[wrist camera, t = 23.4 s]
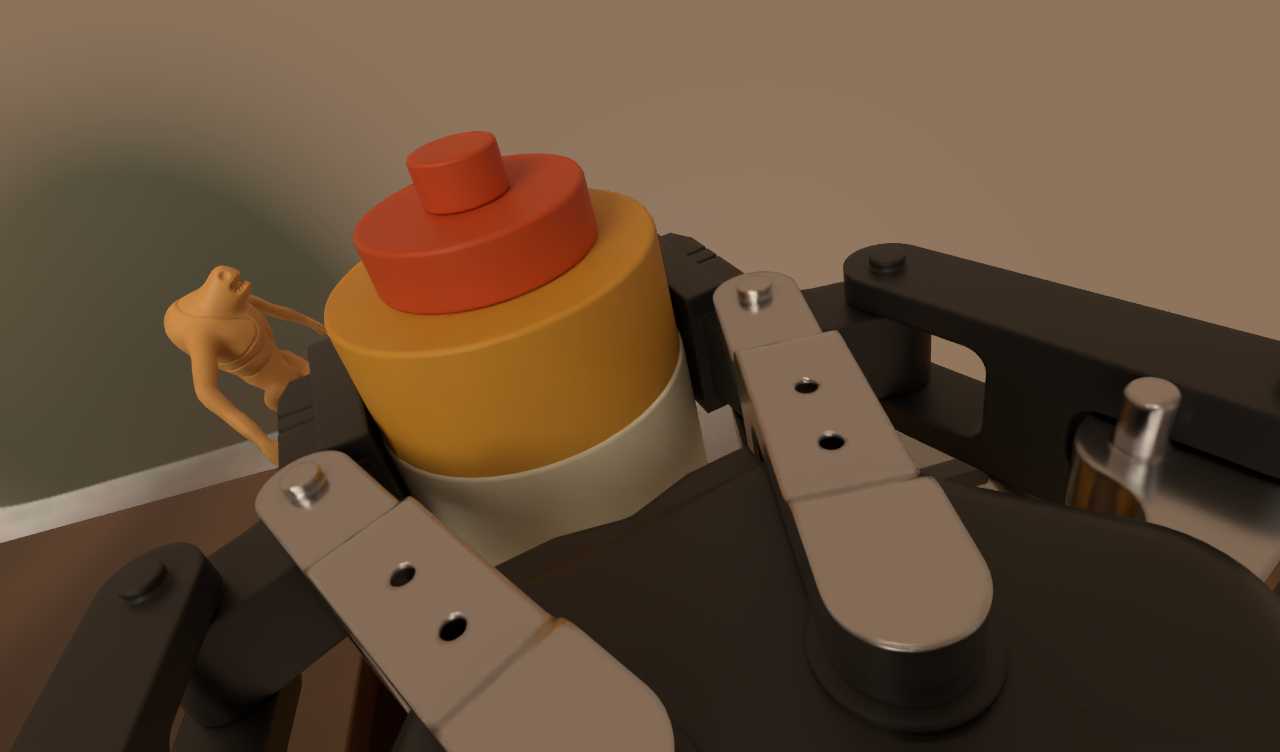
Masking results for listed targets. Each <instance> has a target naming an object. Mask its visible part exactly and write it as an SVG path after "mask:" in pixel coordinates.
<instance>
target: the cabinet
mask: <svg viewBox="0 0 1280 752" xmlns="http://www.w3.org/2000/svg"><path fill="white" fill-rule="evenodd" d="M278 471H279V468H275V469H272V470H268V471H264V472H260V473H257V474H253V475H249V476H246V477H242V478H238V479H235V480H231V481H227V482H224V483H220V484H216V485H213V486H209V487H205V488H202V489H198V490H194V491H191V492H187V493H183V494H180V495H176V496H172V497H169V498H165V499H161V500H158V501H154V502H150V503H147V504H143V505H139V506H136V507H132V508H128V509H125V510H121V511H117V512H114V513H110V514H106V515H103V516H99V517H95V518H92V519H88V520H84V521H81V522H77V523H73V524H70V525H66V526H62V527H59V528H55V529H51V530H48V531H44V532H40V533H37V534H33V535H29V536H26V537H22V538H18V539H15V540H11V541H7V542H4V543H0V752H9V750H10V748H11V746H12V744H13V743H14V741H15V739H16V737H17V735H18V734H19V732H20V730H21V728H22V726H23V725H24V723H25V721H26V719H27V717H28V716H29V714H30V712H31V710H32V708H33V706H34V705H35V703H36V701H37V699H38V697H39V696H40V694H41V692H42V690H43V688H44V687H45V685H46V683H47V681H48V679H49V678H50V676H51V674H52V672H53V670H54V669H55V667H56V665H57V663H58V661H59V660H60V658H61V656H62V654H63V652H64V651H65V649H66V647H67V645H68V643H69V642H70V640H71V638H72V636H73V634H74V632H75V631H76V629H77V627H78V625H79V623H80V622H81V620H82V618H83V616H84V614H85V613H86V611H87V609H88V607H89V605H90V604H91V602H92V600H93V598H94V597H95V595H96V594H97V592H98V591H99V590H100V588H101V587H102V586H103V585H104V584H105V583H106V582H107V581H108V580H109V579H110V578H111V577H112V576H113V575H114V574H115V573H116V572H117V571H118V570H120V569H121V568H122V567H124V566H125V565H126V564H128V563H129V562H131V561H132V560H134V559H135V558H137V557H139V556H141V555H142V554H144V553H146V552H148V551H151V550H153V549H155V548H158V547H161V546H164V545H167V544H172V543H179V542H185V543H191V544H194V545H195V546H197V547H198V548H199V549H200V550H201V552H202V553H203V554H204V555H205V556H206V557H207V556H209V555H211V554H212V553H214V552H215V551H217V550H218V549H220V548H221V547H223V546H224V545H226V544H227V543H229V542H230V541H232V540H234V539H235V538H237V537H238V536H239V535H241V534H242V533H244V532H245V531H247V530H248V529H249V528H250V527H251V526H253V525H254V524H255V523H256V522H257V521H258V520H259V519H260V516H259V515H258V514H257V512H256V509H255V502H256V498H257V495H258V493H259V492H260V490H261V488H262V487H263V486H264V485H265V483H266V482H267V481H268V480H269V479H270V478H271V477H272V476H273V475H274V474H276V473H277V472H278ZM301 676H302V686H301V692H300V696H299V700H298V705H297V709H296V713H295V718H294V722H293V727H292V731H291V735H290V740H289V744H288V748H287V752H369V747H370V740H371V732H372V725H373V718H374V710H375V703H376V695H377V688H378V680H379V677H378V676H377V674H376V673H375V672H374V670H373V669H372V668H371V667H370V665H369V664H368V663H367V661H366V660H365V659H364V658H363V656H362V655H361V654H360V652H359V651H358V650H357V648H356V647H355V646H354V645H353V643H352V642H351V641H350V639H349V638H348V637H346V638H345V639H344V640H343V641H341V642H340V643H339V644H337V645H336V646H335V647H334V648H332V649H331V650H330V651H328V652H327V653H326V654H325V655H323V656H322V657H321V658H319V659H318V660H317V661H316V662H314V663H313V664H312V665H310V666H309V667H308V668H307V669H305V670H304V671H303V672H301ZM184 714H185V711H184V710H183V709H182V708H181V707H180V706H179V709H178V711H177V714H176V717H175V719H174V722H173V725H172V728H171V732H170V740H169V746H170V752H171V749H172V747H173V744H174V741H175V738H176V736H177V733H178V730H179V727H180V725H181V722H182V719H183V717H184Z"/></svg>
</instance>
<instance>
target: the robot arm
mask: <svg viewBox="0 0 1280 752" xmlns="http://www.w3.org/2000/svg"><path fill="white" fill-rule="evenodd" d="M657 235H658V234H657ZM658 240H659V245H660V250H661V255H662V259H663V264H664V269H665V274H666V279H667V283H668V288H669V293H670V298H671V303H672V307H673V312H674V317H675V322H676V327H677V328H678V330H679V332H680V334H681V337H682V341H683V345H684V349H685V354H686V359H687V364H688V369H689V374H690V379H691V384H692V388H693V393H694V398H695V400H696V401H697V402H698V403H699V404H700V405H701V406H702V407H703V408H704V410H705V411H706V412H707V413H710V412H712V411H714V410H716V409H719V408H721V407H723V406H725V405H727V404H729V405H730V406H731V407H732V412H733V418H734V424H735V429H736V433H737V436H738V439H739V443H740V446H741V449H738V450H736V451H734V452H732V453H730V454H728V455H726V456H724V457H722V458H720V459H718V460H716V461H713V462H711V463H709V464H707V465H705V466H703V467H701V468H699V469H697V470H695V471H693V472H691V473H688V474H687V475H685V476H684V477H683V478H681V479H680V480H679V481H677V482H676V483H675V484H673V485H672V486H671V487H669V488H668V489H667V490H665V491H664V492H663V493H661V494H660V495H659V496H657V497H656V498H655V499H654V500H652V501H651V502H650V503H648V504H647V505H646V506H644V507H643V508H642V509H640V510H639V511H638V512H636V513H635V514H633V515H632V516H630V517H628V518H625V519H622V520H618V521H615V522H611V523H607V524H604V525H600V526H596V527H592V528H589V529H585V530H581V531H578V532H574V533H570V534H566V535H563V536H559V537H555V538H553V539H551V540H549V541H547V542H545V543H542V544H540V545H538V546H536V547H534V548H532V549H530V550H528V551H526V552H524V553H522V554H520V555H517V556H515V557H513V558H511V559H509V560H507V561H505V562H503V563H501V564H499V565H497V566H495V567H493V566H492V565H491V564H490V563H489V562H488V561H487V560H485V559H484V558H483V557H482V556H481V555H480V554H478V553H477V552H476V551H475V550H474V549H473V548H471V547H470V546H469V545H468V544H467V543H466V542H465V541H463V540H462V539H461V538H460V537H459V536H458V535H456V534H455V533H454V532H453V531H452V530H451V529H449V528H448V527H447V526H446V525H445V524H444V523H442V522H441V521H440V520H439V519H438V518H437V517H436V516H434V515H433V514H432V513H431V512H430V511H429V510H427V509H426V508H425V507H424V506H423V505H422V504H420V503H419V502H418V501H417V500H416V499H414V498H413V497H411V496H410V494H409V492H408V490H407V488H406V486H405V484H404V483H403V481H402V479H401V477H400V475H399V473H398V472H397V470H396V468H395V466H394V464H393V462H392V461H391V459H390V457H389V455H388V453H387V451H386V449H385V447H384V443H383V440H382V437H381V433H380V431H379V429H378V427H377V425H376V423H375V421H374V420H373V418H372V416H371V414H370V412H369V410H368V408H367V407H366V405H365V403H364V401H363V399H362V397H361V395H360V393H359V392H358V390H357V388H356V386H355V384H354V382H353V380H352V379H351V377H350V375H349V373H348V371H347V369H346V367H345V366H344V364H343V362H342V360H341V358H340V356H339V354H338V352H337V351H336V349H335V347H334V345H333V343H332V341H331V339H330V338H329V337H328V338H326V339H323V340H320V341H318V342H315V343H313V344H310V345H308V358H309V368H310V374H308V375H305V376H303V377H300V378H297V379H295V380H292V381H290V382H289V383H288V384H287V386H286V388H285V389H284V391H283V393H282V394H281V396H280V398H279V399H278V401H277V410H278V419H279V421H278V433H279V435H278V464H279V471H278V472H277V473H276V474H274V475H273V476H272V477H271V478H270V479H269V480H268V481H267V482H266V483H265V485H264V486H263V487H262V488H261V490H260V492H259V493H258V495H257V498H256V502H255V509H256V512H257V514H258V515H259V516H260V519H259V520H258V521H257V522H256V523H255V524H254V525H253V526H251V527H250V528H249V529H248V530H247V531H245V532H244V533H242V534H241V535H239V536H238V537H237V538H235V539H234V540H232V541H230V542H229V543H227V544H226V545H224V546H223V547H221V548H220V549H218V550H217V551H215V552H214V553H212V554H211V555H209V556H207V557H206V556H205V555H204V554H203V553H202V552H201V550H200V549H199V548H198V547H197V546H195V545H194V544H191V543H185V542H179V543H172V544H167V545H164V546H161V547H158V548H155V549H153V550H151V551H148V552H146V553H144V554H142V555H141V556H139V557H137V558H135V559H134V560H132V561H131V562H129V563H128V564H126V565H125V566H124V567H122V568H121V569H120V570H118V571H117V572H116V573H115V574H114V575H113V576H112V577H111V578H110V579H109V580H108V581H107V582H106V583H105V584H104V585H103V586H102V587H101V588H100V590H99V591H98V592H97V594H96V595H95V597H94V598H93V600H92V602H91V604H90V605H89V607H88V609H87V611H86V613H85V614H84V616H83V618H82V620H81V622H80V623H79V625H78V627H77V629H76V631H75V632H74V634H73V636H72V638H71V640H70V642H69V643H68V645H67V647H66V649H65V651H64V652H63V654H62V656H61V658H60V660H59V661H58V663H57V665H56V667H55V669H54V670H53V672H52V674H51V676H50V678H49V679H48V681H47V683H46V685H45V687H44V688H43V690H42V692H41V694H40V696H39V697H38V699H37V701H36V703H35V705H34V706H33V708H32V710H31V712H30V714H29V716H28V717H27V719H26V721H25V723H24V725H23V726H22V728H21V730H20V732H19V734H18V735H17V737H16V739H15V741H14V743H13V744H12V746H11V748H10V750H9V752H170V746H169V740H170V732H171V728H172V725H173V722H174V719H175V717H176V714H177V711H178V709H179V706H180V707H181V708H182V709H183V710H184V711H185V714H184V717H183V719H182V722H181V725H180V727H179V730H178V733H177V736H176V738H175V741H174V744H173V747H172V749H171V752H287V748H288V744H289V740H290V735H291V731H292V727H293V722H294V718H295V713H296V709H297V705H298V700H299V696H300V692H301V686H302V676H301V672H303V671H304V670H305V669H307V668H308V667H309V666H310V665H312V664H313V663H314V662H316V661H317V660H318V659H319V658H321V657H322V656H323V655H325V654H326V653H327V652H328V651H330V650H331V649H332V648H334V647H335V646H336V645H337V644H339V643H340V642H341V641H343V640H344V639H345V638H346V637H348V638H349V639H350V641H351V642H352V643H353V645H354V646H355V647H356V648H357V650H358V651H359V652H360V654H361V655H362V656H363V658H364V659H365V660H366V661H367V663H368V664H369V665H370V667H371V668H372V669H373V670H374V672H375V673H376V674H377V676H378V677H379V678H380V680H381V681H382V682H383V683H384V685H385V686H386V687H387V689H388V690H389V691H390V692H391V694H392V695H393V696H394V698H395V699H396V700H397V702H398V703H399V704H400V705H401V707H402V708H403V709H404V711H405V712H406V713H407V715H408V716H407V718H406V720H405V722H404V724H403V726H402V729H401V731H400V733H399V735H398V737H397V739H396V742H395V744H394V746H393V748H392V750H391V752H1280V598H1279V597H1280V341H1278V340H1274V339H1270V338H1266V337H1262V336H1258V335H1255V334H1251V333H1247V332H1243V331H1239V330H1235V329H1231V328H1228V327H1224V326H1220V325H1216V324H1212V323H1208V322H1205V321H1201V320H1197V319H1193V318H1189V317H1186V316H1182V315H1178V314H1174V313H1170V312H1166V311H1162V310H1159V309H1155V308H1150V307H1147V306H1143V305H1140V304H1136V303H1132V302H1128V301H1124V300H1120V299H1117V298H1113V297H1109V296H1105V295H1101V294H1097V293H1093V292H1090V291H1086V290H1082V289H1078V288H1074V287H1071V286H1067V285H1063V284H1059V283H1055V282H1051V281H1048V280H1043V279H1040V278H1036V277H1032V276H1028V275H1025V274H1021V273H1017V272H1013V271H1009V270H1005V269H1002V268H997V267H994V266H990V265H986V264H982V263H979V262H974V261H971V260H967V259H963V258H959V257H955V256H952V255H948V254H944V253H940V252H936V251H932V250H929V249H925V248H921V247H917V246H913V245H908V244H901V243H887V244H878V245H873V246H869V247H866V248H863V249H860V250H858V251H856V252H854V253H853V254H851V255H850V256H849V257H848V258H847V259H846V260H845V262H844V266H843V270H844V282H840V283H835V284H831V285H826V286H821V287H817V288H812V289H806V290H800V289H799V288H798V286H797V284H796V282H795V281H794V280H793V279H792V278H791V277H789V276H787V275H784V274H781V273H777V272H768V271H766V272H765V271H760V272H751V273H746V274H744V273H743V272H741V271H740V270H739V269H737V268H736V267H734V266H733V265H731V264H730V263H728V262H727V261H725V260H724V259H722V258H721V257H717V255H716V254H715V253H714V252H712V251H711V250H709V249H706V248H705V246H703V245H702V244H700V243H699V242H697V241H696V240H694V239H693V238H691V237H687V236H682V235H677V234H672V233H669V234H666V235H664V236H660V235H658ZM931 334H932V335H935V336H938V337H940V338H943V339H946V340H949V341H951V342H954V343H957V344H960V345H963V346H965V347H967V348H969V349H971V350H972V351H974V352H975V353H976V354H977V355H978V356H979V357H980V359H981V360H982V362H983V363H984V366H985V369H986V381H985V383H983V382H981V381H978V380H976V379H973V378H971V377H968V376H965V375H963V374H960V373H958V372H955V371H952V370H950V369H947V368H945V367H942V366H939V365H937V364H934V363H932V362H931ZM896 430H897V431H899V432H901V433H903V434H905V435H907V436H910V437H912V438H914V439H916V440H918V441H920V442H922V443H924V444H926V445H928V446H930V447H933V448H935V449H937V450H939V451H941V452H943V453H945V454H947V455H949V456H951V457H954V458H956V459H958V460H960V461H962V462H964V463H966V464H968V465H970V466H972V467H974V468H977V469H979V470H981V471H983V472H985V473H987V474H989V475H991V476H993V477H995V478H997V479H1000V480H1002V481H1004V482H1006V483H1008V484H1010V485H1012V486H1014V487H1016V488H1018V489H1020V490H1023V491H1025V492H1027V493H1029V494H1031V495H1033V496H1035V497H1037V498H1039V499H1041V500H1039V499H1034V498H1029V497H1024V496H1019V495H1014V494H1009V493H1005V492H1000V491H995V490H990V489H985V488H980V487H975V486H970V485H966V484H961V483H956V482H951V481H946V480H941V479H936V478H934V477H932V476H931V475H930V474H927V473H922V472H921V471H920V470H919V469H918V468H917V467H916V465H915V463H914V462H913V460H912V458H911V457H910V455H909V453H908V451H907V450H906V448H905V446H904V444H903V443H902V441H901V439H900V437H899V436H898V434H897V432H896ZM1043 500H1044V501H1043Z"/></svg>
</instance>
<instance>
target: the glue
mask: <svg viewBox="0 0 1280 752" xmlns="http://www.w3.org/2000/svg"><path fill="white" fill-rule="evenodd" d="M406 165H407V168H408V170H409V173H410V175H411V178H412V180H413V183H414V184H411V185H409V186H407V187H405V188H404V189H402V190H400V191H398V192H396V193H394V194H393V195H391V196H389V197H388V198H386V199H385V200H383V201H382V202H380V203H379V204H377V205H376V206H375V207H373V208H372V209H371V210H370V211H369V212H368V213H366V214H365V215H364V216H363V217H362V219H361V220H360V221H359V222H358V224H357V226H356V228H355V230H354V234H353V235H354V236H353V237H354V245H355V247H356V249H357V251H358V253H359V255H360V258H361V259H362V261H360V262H359V263H358V264H357V265H356V266H355V267H354V268H352V269H351V270H350V271H349V272H348V273H347V274H346V275H345V276H344V277H343V278H342V279H341V280H340V282H339V283H338V284H337V285H336V287H335V288H334V290H333V291H332V292H331V294H330V296H329V298H328V300H327V303H326V306H325V310H324V325H325V328H326V331H327V334H328V335H329V338H330V339H331V341H332V343H333V345H334V347H335V349H336V351H337V352H338V354H339V356H340V358H341V360H342V362H343V364H344V366H345V367H346V369H347V371H348V373H349V375H350V377H351V379H352V380H353V382H354V384H355V386H356V388H357V390H358V392H359V393H360V395H361V397H362V399H363V401H364V403H365V405H366V407H367V408H368V410H369V412H370V414H371V416H372V418H373V420H374V421H375V423H376V425H377V427H378V429H379V431H380V433H381V437H382V440H383V443H384V447H385V449H386V451H387V453H388V455H389V457H390V459H391V461H392V462H393V464H394V466H395V468H396V470H397V472H398V473H399V475H400V477H401V479H402V481H403V483H404V484H405V486H406V488H407V490H408V492H409V494H410V496H411V497H413V498H414V499H416V500H417V501H418V502H419V503H420V504H422V505H423V506H424V507H425V508H426V509H427V510H429V511H430V512H431V513H432V514H433V515H434V516H436V517H437V518H438V519H439V520H440V521H441V522H442V523H444V524H445V525H446V526H447V527H448V528H449V529H451V530H452V531H453V532H454V533H455V534H456V535H458V536H459V537H460V538H461V539H462V540H463V541H465V542H466V543H467V544H468V545H469V546H470V547H471V548H473V549H474V550H475V551H476V552H477V553H478V554H480V555H481V556H482V557H483V558H484V559H485V560H487V561H488V562H489V563H490V564H491V565H492V566H493V567H495V566H497V565H499V564H501V563H503V562H505V561H507V560H509V559H511V558H513V557H515V556H517V555H520V554H522V553H524V552H526V551H528V550H530V549H532V548H534V547H536V546H538V545H540V544H542V543H545V542H547V541H549V540H551V539H553V538H555V537H559V536H563V535H566V534H570V533H574V532H578V531H581V530H585V529H589V528H592V527H596V526H600V525H604V524H607V523H611V522H615V521H618V520H622V519H625V518H628V517H630V516H632V515H633V514H635V513H636V512H638V511H639V510H640V509H642V508H643V507H644V506H646V505H647V504H648V503H650V502H651V501H652V500H654V499H655V498H656V497H657V496H659V495H660V494H661V493H663V492H664V491H665V490H667V489H668V488H669V487H671V486H672V485H673V484H675V483H676V482H677V481H679V480H680V479H681V478H683V477H684V476H685V475H687V474H688V473H691V472H693V471H695V470H697V469H699V468H701V467H703V466H705V465H707V464H708V462H707V457H706V452H705V447H704V442H703V437H702V432H701V427H700V423H699V418H698V413H697V408H696V403H695V398H694V393H693V388H692V384H691V379H690V374H689V369H688V364H687V359H686V354H685V349H684V345H683V341H682V337H681V334H680V332H679V330H678V328H677V327H676V322H675V317H674V312H673V307H672V303H671V298H670V293H669V288H668V283H667V279H666V274H665V269H664V264H663V259H662V255H661V250H660V245H659V240H658V235H657V231H656V226H655V223H654V220H653V218H652V216H651V215H650V214H649V212H648V211H647V209H646V208H645V207H644V206H642V205H641V204H640V203H639V202H637V201H636V200H634V199H632V198H630V197H627V196H625V195H622V194H618V193H615V192H610V191H605V190H597V189H588V188H587V184H586V180H585V176H584V172H583V170H582V169H581V167H580V166H579V165H578V164H577V163H576V162H575V161H573V160H571V159H569V158H567V157H563V156H559V155H553V154H552V155H551V154H518V155H509V156H502V157H501V153H500V150H499V147H498V144H497V141H496V138H495V137H494V135H493V134H492V133H489V132H484V131H483V132H482V131H472V132H465V133H459V134H455V135H450V136H447V137H444V138H441V139H438V140H435V141H433V142H430V143H428V144H426V145H424V146H422V147H420V148H418V149H417V150H416V151H414V152H413V153H411V154H410V155H409V156H408V157H407V159H406Z"/></svg>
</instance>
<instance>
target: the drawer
mask: <svg viewBox="0 0 1280 752" xmlns="http://www.w3.org/2000/svg"><path fill="white" fill-rule="evenodd" d="M919 470H920V471H921V472H922V473H927V474H930V475H931V476H932V477H934V478H936V479H941V480H946V481H951V482H956V483H961V484H966V485H970V486H975V487H976V486H979V485H983V484H986V483H988V479H989V481H990V482H991V483H992V484H993V485H994V486H995V488H996V489H997V490H998V491H1000V492H1005V493H1009V494H1014V495H1019V496H1024V497H1029V498H1034V499H1039V498H1037V497H1035V496H1033V495H1031V494H1029V493H1027V492H1025V491H1023V490H1020V489H1018V488H1016V487H1014V486H1012V485H1010V484H1008V483H1006V482H1004V481H1002V480H1000V479H997V478H995V477H993V476H991V475H989V474H987V473H985V472H983V471H981V470H979V469H977V468H974V467H972V466H970V465H968V464H966V463H964V462H962V461H960V460H958V459H953V460H950V461H946V462H942V463H939V464H935V465H932V466H928V467H925V468H921V469H919ZM1039 500H1041V499H1039ZM1043 501H1044V500H1043ZM407 716H408V715H407V713H406V712H405V711H404V709H403V708H402V707H401V705H400V704H399V703H398V702H397V700H396V699H395V698H394V696H393V695H392V694H391V692H390V691H389V690H388V689H387V687H386V686H385V685H384V683H383V682H382V681H381V680H380V678H379V680H378V688H377V695H376V703H375V710H374V718H373V725H372V732H371V740H370V747H369V752H391V750H392V748H393V746H394V744H395V742H396V739H397V737H398V735H399V733H400V731H401V729H402V726H403V724H404V722H405V720H406V718H407Z"/></svg>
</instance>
